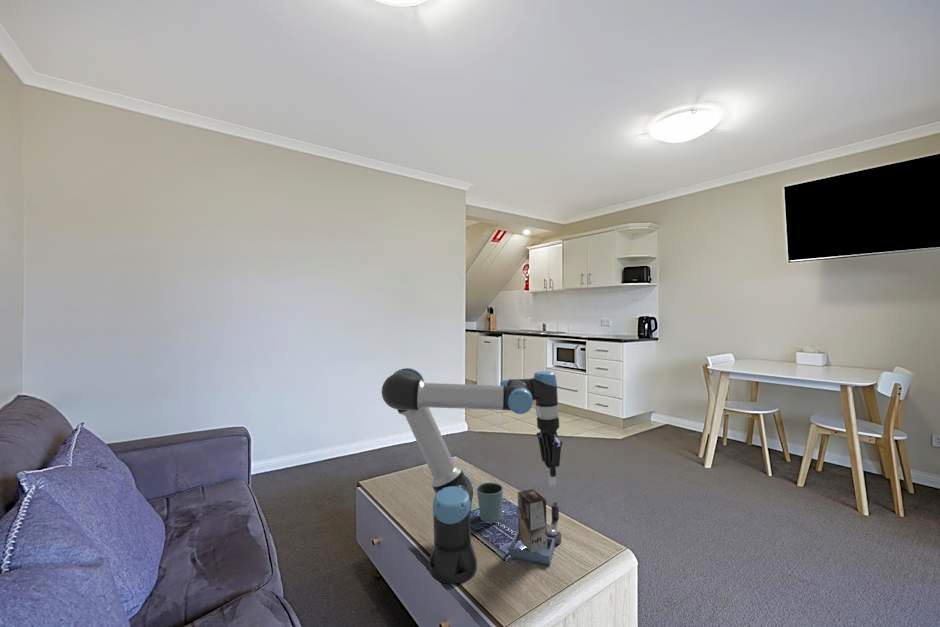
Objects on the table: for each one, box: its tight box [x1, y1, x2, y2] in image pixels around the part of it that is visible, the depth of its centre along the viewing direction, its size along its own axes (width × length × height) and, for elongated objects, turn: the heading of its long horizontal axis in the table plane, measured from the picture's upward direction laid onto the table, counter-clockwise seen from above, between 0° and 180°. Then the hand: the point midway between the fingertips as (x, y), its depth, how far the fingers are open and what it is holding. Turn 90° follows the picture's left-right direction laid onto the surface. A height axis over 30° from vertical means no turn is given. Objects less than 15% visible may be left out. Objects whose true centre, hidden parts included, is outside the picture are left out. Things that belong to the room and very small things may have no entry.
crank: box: [547, 501, 560, 537], centre depth 143 cm, size 12×4×6 cm, turn 159°
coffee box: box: [517, 488, 548, 553], centre depth 133 cm, size 9×6×16 cm
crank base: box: [547, 531, 562, 546], centre depth 141 cm, size 6×15×2 cm, turn 69°
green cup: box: [476, 482, 504, 524], centre depth 155 cm, size 10×10×12 cm
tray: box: [508, 531, 556, 566], centre depth 133 cm, size 10×13×3 cm
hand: (551, 484), depth 138 cm, fingers closed
